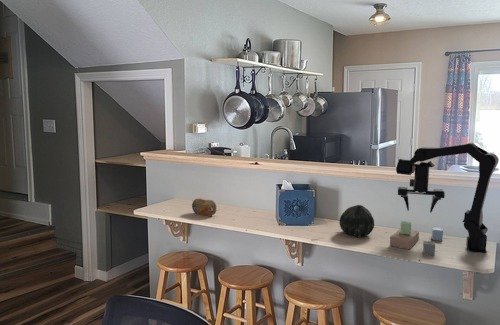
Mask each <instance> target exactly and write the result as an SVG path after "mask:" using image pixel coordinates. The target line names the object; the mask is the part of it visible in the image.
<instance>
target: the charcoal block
mask: <svg viewBox="0 0 500 325" xmlns="http://www.w3.org/2000/svg"><path fill="white" fill-rule="evenodd" d="M422 244H423V246H422V254H423V255H424V256H425V255H426V256H435V255H436V254H435V253H436V243H435V241H429V240H423V242H422Z"/></svg>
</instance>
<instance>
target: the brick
mask: <svg viewBox="0 0 500 325" xmlns="http://www.w3.org/2000/svg"><path fill="white" fill-rule="evenodd" d="M419 240H420V231H419V230H416V229H412V228H411V235H408V234H401V232H400V229H397V231H396V232H395V233H393V234H392V235H390V237H389V245H390V246H391V247H394V248H400V249H405V250H410V249H412V248H413V247H414V246H415V244H416V243H417V242H418V241H419Z"/></svg>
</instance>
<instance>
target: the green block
mask: <svg viewBox="0 0 500 325" xmlns="http://www.w3.org/2000/svg"><path fill="white" fill-rule="evenodd" d="M411 229H412V222H411V221H405V220H401V221H400V229H399V230H400V232H401V234H408V235H411Z"/></svg>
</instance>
